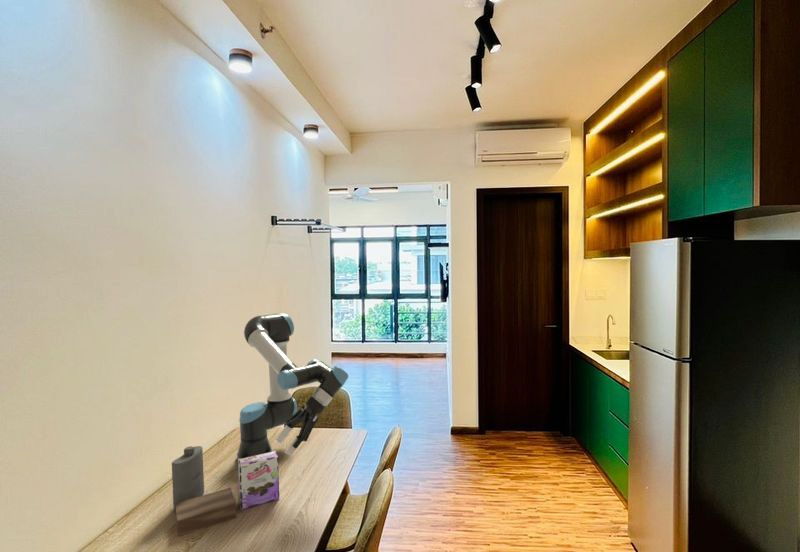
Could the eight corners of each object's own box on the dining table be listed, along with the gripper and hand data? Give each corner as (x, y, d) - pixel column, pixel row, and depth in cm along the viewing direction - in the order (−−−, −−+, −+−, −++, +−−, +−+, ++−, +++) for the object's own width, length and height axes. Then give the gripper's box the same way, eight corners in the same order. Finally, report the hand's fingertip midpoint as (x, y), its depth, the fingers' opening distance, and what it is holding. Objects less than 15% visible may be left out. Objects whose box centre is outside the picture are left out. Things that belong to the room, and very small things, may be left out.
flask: (186, 512, 144) (183, 457, 144) (170, 512, 145) (168, 457, 144) (208, 489, 159) (206, 439, 159) (194, 489, 160) (192, 439, 159)
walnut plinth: (176, 517, 142) (175, 503, 142) (231, 500, 151) (230, 487, 151) (177, 536, 131) (177, 521, 131) (236, 517, 141) (235, 503, 141)
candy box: (240, 510, 145) (238, 465, 144) (238, 502, 150) (237, 458, 150) (279, 499, 151) (278, 456, 151) (276, 491, 156) (275, 449, 156)
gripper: (336, 415, 153) (299, 465, 145) (315, 398, 174) (281, 441, 167) (323, 404, 150) (284, 455, 143) (302, 388, 171) (267, 431, 164)
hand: (282, 447), depth 155 cm, fingers open, 13 cm apart
